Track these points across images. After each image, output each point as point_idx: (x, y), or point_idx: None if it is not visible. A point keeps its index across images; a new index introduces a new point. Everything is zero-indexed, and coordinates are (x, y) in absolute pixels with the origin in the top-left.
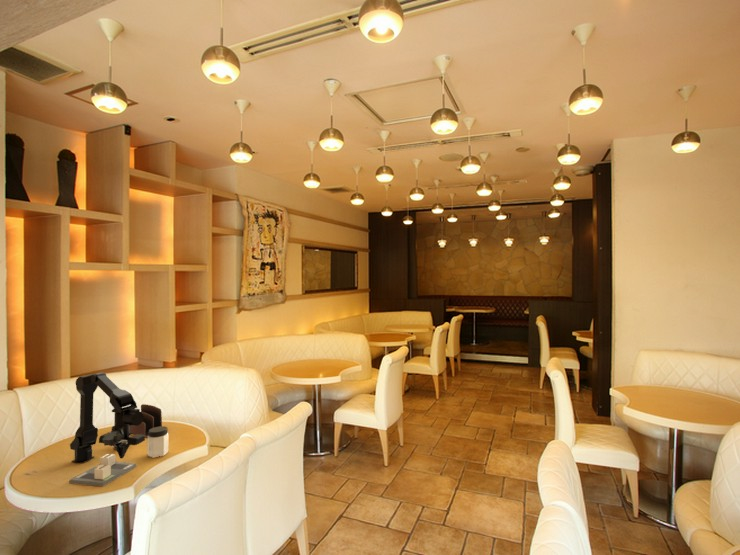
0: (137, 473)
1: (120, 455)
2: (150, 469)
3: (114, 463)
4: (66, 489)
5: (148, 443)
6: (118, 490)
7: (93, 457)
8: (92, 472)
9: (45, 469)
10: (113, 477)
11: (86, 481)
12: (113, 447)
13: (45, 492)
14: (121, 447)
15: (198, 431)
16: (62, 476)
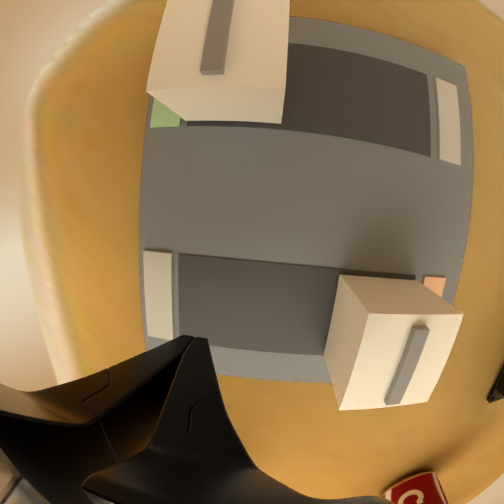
0: (76, 248)
1: (182, 352)
2: (55, 306)
3: (325, 347)
4: (394, 3)
5: None
6: (66, 44)
7: (490, 395)
8: (411, 170)
9: None
10: (150, 111)
11: (324, 21)
12: (434, 473)
13: (458, 5)
14: (57, 411)
15: None
16: None
